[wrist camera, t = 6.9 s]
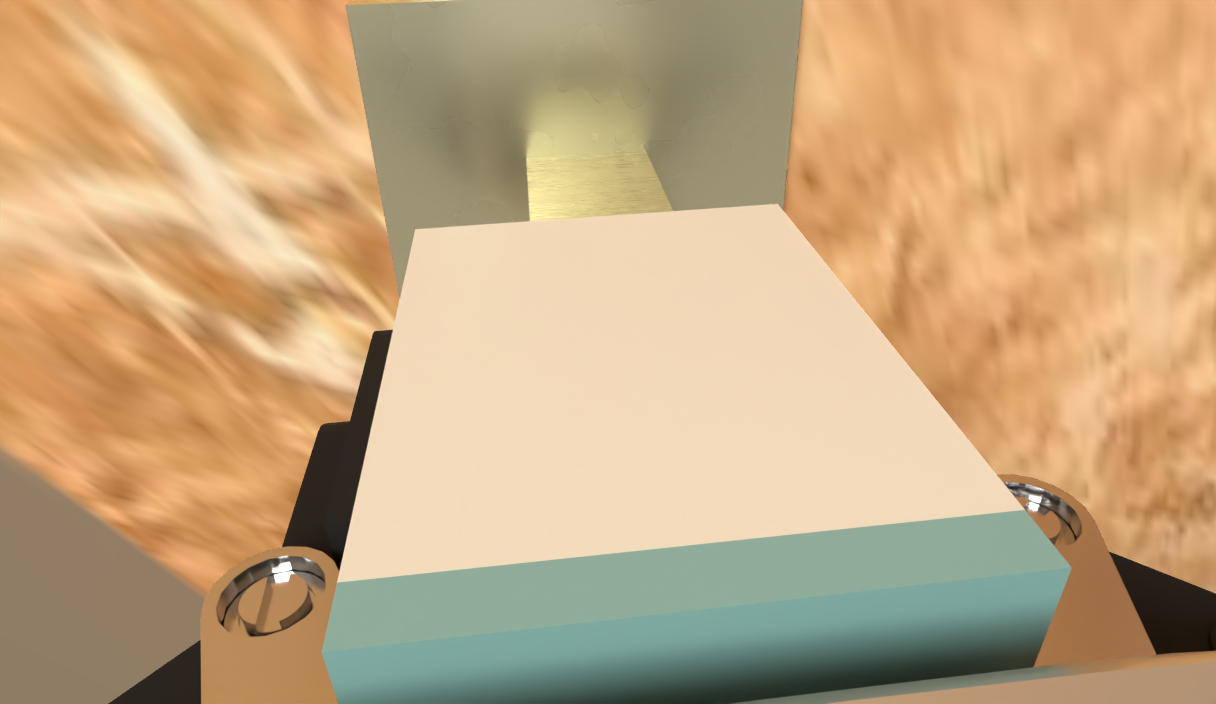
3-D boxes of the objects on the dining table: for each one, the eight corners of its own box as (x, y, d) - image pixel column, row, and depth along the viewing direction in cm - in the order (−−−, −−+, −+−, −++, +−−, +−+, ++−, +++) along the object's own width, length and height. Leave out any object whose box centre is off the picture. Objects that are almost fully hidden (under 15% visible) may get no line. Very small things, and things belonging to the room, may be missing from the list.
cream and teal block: (777, 204, 12) (1072, 567, 6) (753, 478, 14) (935, 920, 8) (415, 229, 11) (321, 652, 5) (460, 507, 14) (433, 997, 8)
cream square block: (795, -20, 17) (926, 39, 11) (762, 351, 21) (845, 513, 16) (350, 0, 16) (273, 72, 11) (419, 378, 21) (389, 556, 15)
